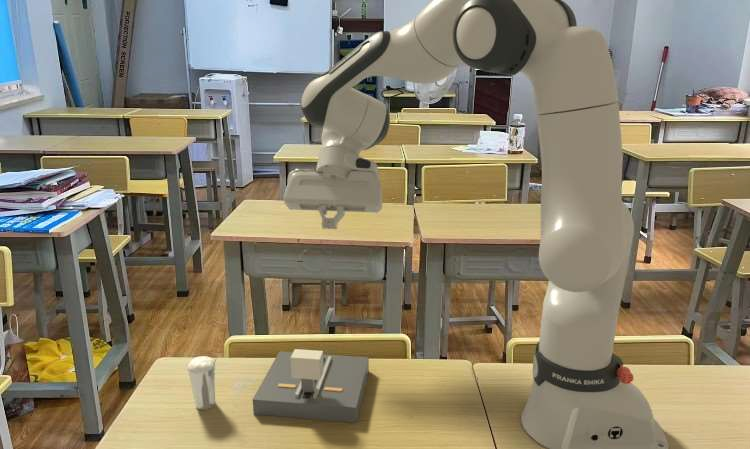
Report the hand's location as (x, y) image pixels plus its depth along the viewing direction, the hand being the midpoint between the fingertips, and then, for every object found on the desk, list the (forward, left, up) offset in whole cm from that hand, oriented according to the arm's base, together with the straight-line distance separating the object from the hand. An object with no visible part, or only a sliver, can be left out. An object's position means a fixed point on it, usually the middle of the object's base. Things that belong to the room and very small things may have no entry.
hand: (329, 227), depth 109 cm
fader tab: (0, +21, -23) cm, 31 cm away
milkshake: (+18, +23, -27) cm, 40 cm away
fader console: (0, +17, -27) cm, 31 cm away
